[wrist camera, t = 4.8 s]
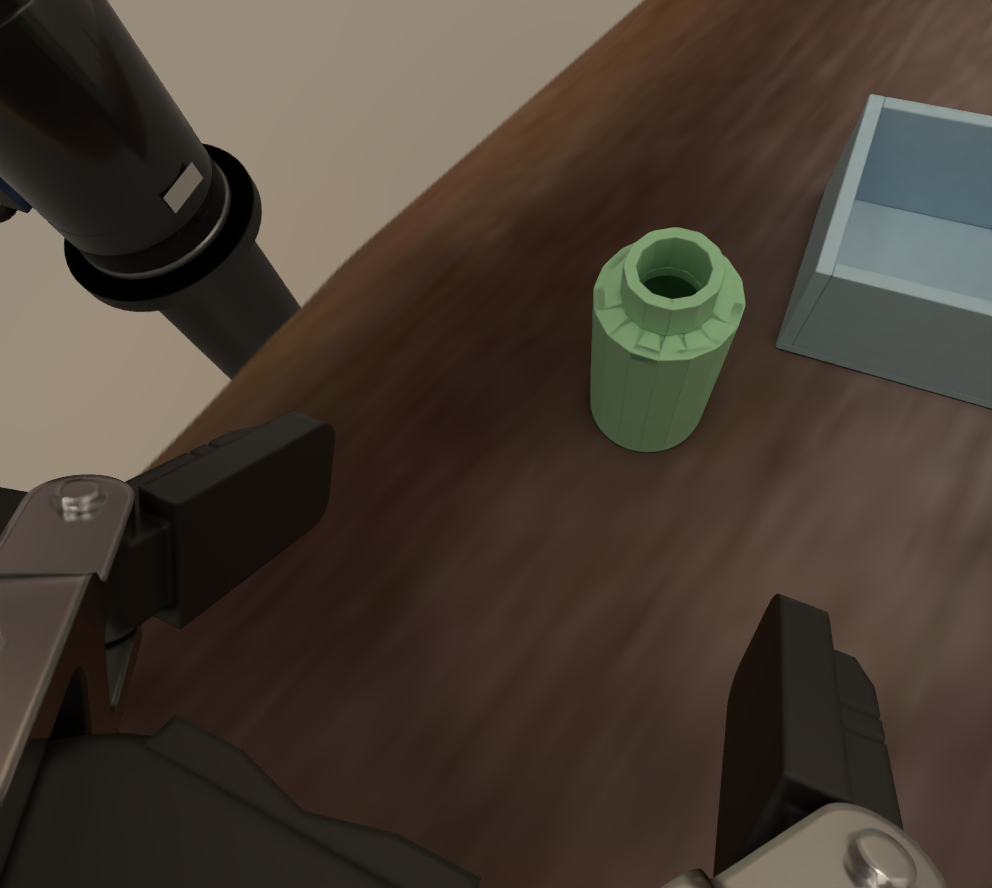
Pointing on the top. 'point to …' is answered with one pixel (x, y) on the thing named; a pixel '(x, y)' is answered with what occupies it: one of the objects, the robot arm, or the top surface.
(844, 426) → the top surface
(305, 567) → the top surface
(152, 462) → the top surface
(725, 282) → the bottle
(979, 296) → the case
